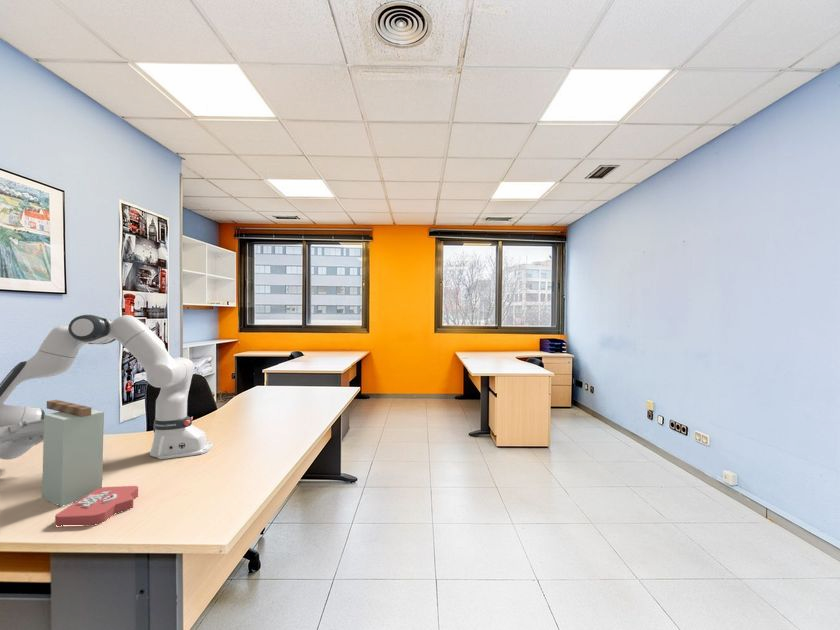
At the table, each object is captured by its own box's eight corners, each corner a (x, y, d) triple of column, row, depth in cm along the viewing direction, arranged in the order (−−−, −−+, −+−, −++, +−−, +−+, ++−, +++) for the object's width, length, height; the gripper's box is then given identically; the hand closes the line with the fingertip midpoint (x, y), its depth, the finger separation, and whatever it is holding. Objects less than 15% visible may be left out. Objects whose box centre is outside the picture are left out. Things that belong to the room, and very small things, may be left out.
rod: (46, 408, 121) (46, 401, 121) (56, 406, 124) (56, 399, 124) (81, 417, 112) (81, 409, 112) (91, 415, 115) (91, 407, 115)
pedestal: (41, 498, 114) (44, 414, 114) (82, 485, 123) (84, 407, 123) (61, 507, 109) (63, 419, 109) (101, 492, 118) (103, 412, 118)
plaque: (111, 512, 101) (50, 515, 99) (111, 526, 101) (50, 529, 99) (150, 483, 118) (99, 485, 116) (150, 495, 118) (99, 497, 116)
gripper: (-21, 435, 121) (-5, 418, 116) (60, 419, 140) (77, 405, 135) (-17, 453, 120) (-1, 437, 115) (64, 435, 139) (81, 421, 134)
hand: (42, 420), depth 125 cm, fingers open, 8 cm apart
